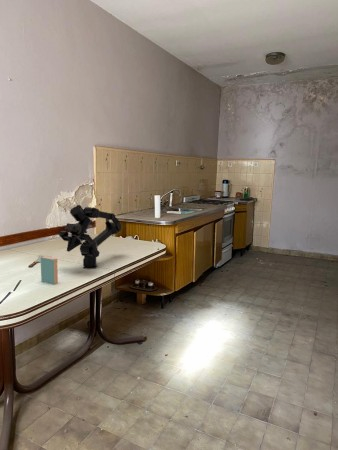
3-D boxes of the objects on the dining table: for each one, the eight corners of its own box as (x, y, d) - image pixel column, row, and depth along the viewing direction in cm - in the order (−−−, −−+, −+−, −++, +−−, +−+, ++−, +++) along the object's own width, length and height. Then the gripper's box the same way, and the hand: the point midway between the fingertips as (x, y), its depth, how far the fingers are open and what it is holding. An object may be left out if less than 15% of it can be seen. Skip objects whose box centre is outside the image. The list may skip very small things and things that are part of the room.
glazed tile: (45, 280, 158) (44, 256, 156) (57, 282, 155) (57, 258, 153) (41, 281, 156) (40, 257, 154) (53, 284, 153) (53, 259, 151)
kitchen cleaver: (42, 267, 178) (24, 265, 177) (42, 268, 178) (24, 267, 177) (56, 256, 202) (39, 254, 201) (55, 257, 202) (39, 256, 201)
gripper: (60, 215, 171) (45, 240, 162) (88, 218, 163) (74, 244, 155) (71, 228, 179) (57, 252, 171) (98, 231, 171) (85, 256, 163)
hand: (67, 251), depth 164 cm, fingers closed
